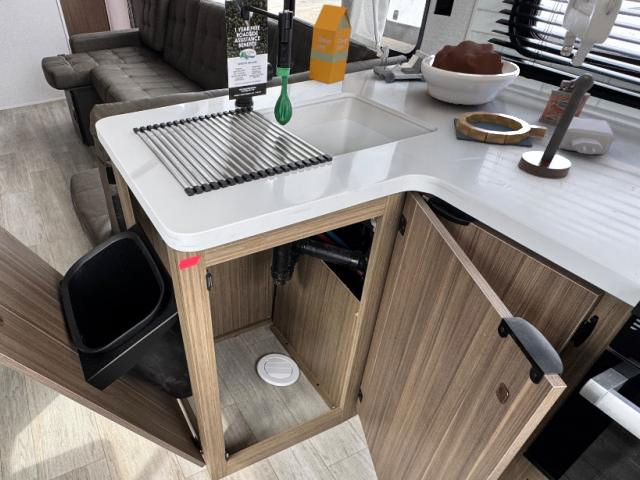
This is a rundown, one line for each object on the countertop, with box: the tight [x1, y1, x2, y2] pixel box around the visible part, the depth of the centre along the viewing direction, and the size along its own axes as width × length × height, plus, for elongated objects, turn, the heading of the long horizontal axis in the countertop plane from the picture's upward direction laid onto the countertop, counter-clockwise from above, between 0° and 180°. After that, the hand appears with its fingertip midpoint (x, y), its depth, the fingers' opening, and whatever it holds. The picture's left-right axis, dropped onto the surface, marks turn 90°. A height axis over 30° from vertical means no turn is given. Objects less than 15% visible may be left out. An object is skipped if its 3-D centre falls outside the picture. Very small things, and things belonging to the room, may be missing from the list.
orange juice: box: [308, 4, 352, 85], centre depth 135 cm, size 8×9×20 cm
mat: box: [453, 117, 533, 148], centre depth 105 cm, size 16×14×1 cm
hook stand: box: [517, 73, 595, 179], centre depth 84 cm, size 9×9×18 cm
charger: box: [558, 116, 616, 155], centre depth 96 cm, size 5×9×15 cm
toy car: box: [372, 45, 431, 84], centre depth 140 cm, size 18×10×12 cm
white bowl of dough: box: [421, 39, 520, 106], centre depth 120 cm, size 25×25×15 cm
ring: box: [456, 111, 548, 144], centre depth 104 cm, size 19×16×2 cm
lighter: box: [538, 78, 591, 126], centre depth 108 cm, size 8×3×10 cm, turn 55°
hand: (569, 60), depth 92 cm, fingers open, 8 cm apart
